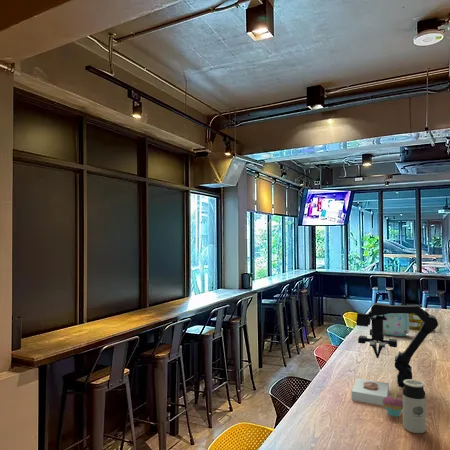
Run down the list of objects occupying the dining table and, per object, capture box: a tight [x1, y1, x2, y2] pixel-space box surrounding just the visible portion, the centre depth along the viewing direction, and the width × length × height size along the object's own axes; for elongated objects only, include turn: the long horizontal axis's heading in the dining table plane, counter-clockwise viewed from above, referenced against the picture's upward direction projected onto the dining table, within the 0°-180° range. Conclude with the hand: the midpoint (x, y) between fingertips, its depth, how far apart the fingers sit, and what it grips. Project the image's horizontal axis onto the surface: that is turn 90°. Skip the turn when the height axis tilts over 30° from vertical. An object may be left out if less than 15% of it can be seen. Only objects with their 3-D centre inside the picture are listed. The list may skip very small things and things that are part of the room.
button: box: [364, 382, 378, 390], centre depth 185 cm, size 6×6×4 cm
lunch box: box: [370, 313, 410, 337], centre depth 298 cm, size 27×10×21 cm, turn 55°
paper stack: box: [409, 307, 430, 333], centre depth 317 cm, size 25×25×17 cm
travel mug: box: [402, 378, 427, 434], centre depth 153 cm, size 8×8×18 cm
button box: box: [350, 377, 390, 407], centre depth 185 cm, size 15×18×4 cm
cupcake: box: [382, 387, 403, 418], centre depth 166 cm, size 9×8×12 cm
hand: (377, 357), depth 203 cm, fingers closed
